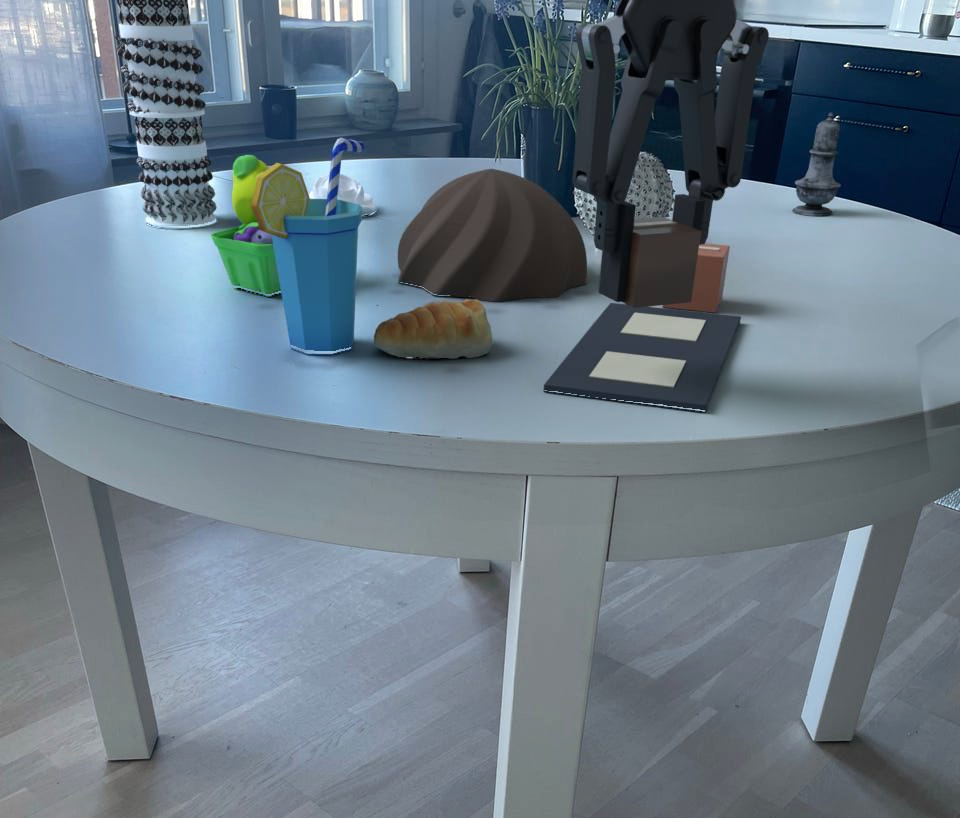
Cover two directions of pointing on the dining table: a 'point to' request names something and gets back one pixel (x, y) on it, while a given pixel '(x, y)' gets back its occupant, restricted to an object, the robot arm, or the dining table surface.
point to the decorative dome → (492, 241)
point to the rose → (345, 192)
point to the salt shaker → (819, 172)
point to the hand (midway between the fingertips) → (645, 293)
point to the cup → (312, 253)
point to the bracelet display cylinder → (166, 111)
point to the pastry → (437, 331)
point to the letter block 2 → (707, 279)
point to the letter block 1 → (661, 262)
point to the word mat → (648, 357)
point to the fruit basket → (248, 235)
